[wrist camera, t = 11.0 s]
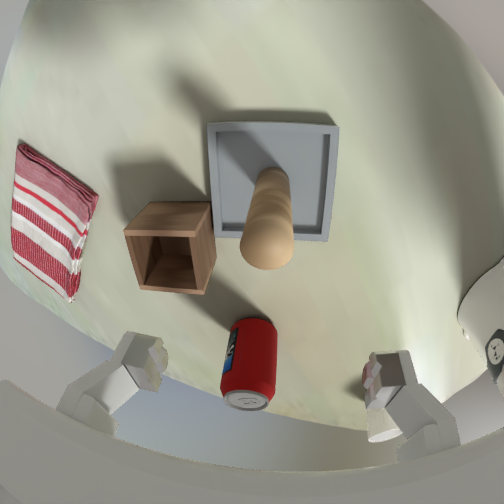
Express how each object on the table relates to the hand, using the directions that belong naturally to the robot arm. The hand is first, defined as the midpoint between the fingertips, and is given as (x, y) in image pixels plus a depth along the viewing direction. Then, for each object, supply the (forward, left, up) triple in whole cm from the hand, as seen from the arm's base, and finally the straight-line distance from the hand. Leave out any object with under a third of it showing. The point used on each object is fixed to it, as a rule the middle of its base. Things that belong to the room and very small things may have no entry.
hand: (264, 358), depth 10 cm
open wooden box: (+10, +6, -20) cm, 23 cm away
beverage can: (+2, +22, -21) cm, 30 cm away
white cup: (-26, +46, -21) cm, 56 cm away
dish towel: (+34, +6, -21) cm, 41 cm away
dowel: (0, 0, -20) cm, 20 cm away
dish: (0, 0, -20) cm, 20 cm away
